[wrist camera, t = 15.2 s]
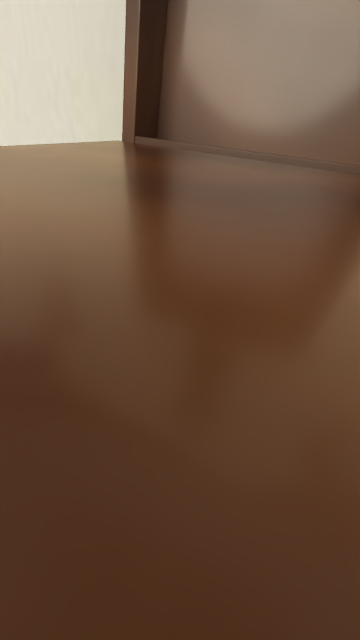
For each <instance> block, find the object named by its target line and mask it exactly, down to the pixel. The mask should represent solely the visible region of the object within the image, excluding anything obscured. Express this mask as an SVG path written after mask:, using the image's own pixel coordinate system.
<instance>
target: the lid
mask: <svg viewBox="0 0 360 640" xmlns="http://www.w3.org/2000/svg"><path fill="white" fill-rule="evenodd" d="M0 640H360V175H358V174H351V173H344V172H337V171H330V170H323V169H316V168H309V167H301V166H294V165H287V164H280V163H273V162H266V161H259V160H252V159H244V158H237V157H230V156H223V155H216V154H209V153H202V152H194V151H187V150H180V149H173V148H166V147H159V146H152V145H145V144H137V143H130V142H123V141H102V142H81V143H60V144H39V145H18V146H0Z"/></svg>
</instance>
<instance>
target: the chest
mask: <svg viewBox="0 0 360 640" xmlns="http://www.w3.org/2000/svg"><path fill="white" fill-rule="evenodd" d="M122 141H123V142H130V143H137V144H145V145H152V146H159V147H166V148H173V149H180V150H187V151H194V152H202V153H209V154H216V155H223V156H230V157H237V158H244V159H252V160H259V161H266V162H273V163H280V164H287V165H294V166H301V167H309V168H316V169H323V170H330V171H337V172H344V173H351V174H358V175H360V0H126V30H125V65H124V99H123V133H122Z"/></svg>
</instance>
